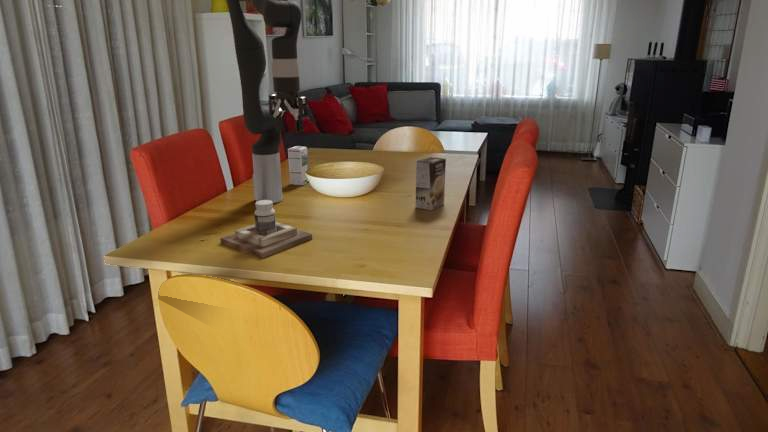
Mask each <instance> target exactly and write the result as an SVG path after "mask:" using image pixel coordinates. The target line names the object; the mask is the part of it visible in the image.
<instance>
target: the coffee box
mask: <svg viewBox="0 0 768 432" xmlns="http://www.w3.org/2000/svg"><path fill="white" fill-rule="evenodd" d="M446 162H447V159H446V158H442V157H432V156H429V157H426V158H423V159H419V160H416V162H415V163H416V171H415V208H416V209H422V210H427V211H433V210H435V209H437V208H439V207H442V206H443V205H445V194H446V193H445V190H446V189H445V188H446V187H445V186H446V167H447V166H446V164H447V163H446Z"/></svg>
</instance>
